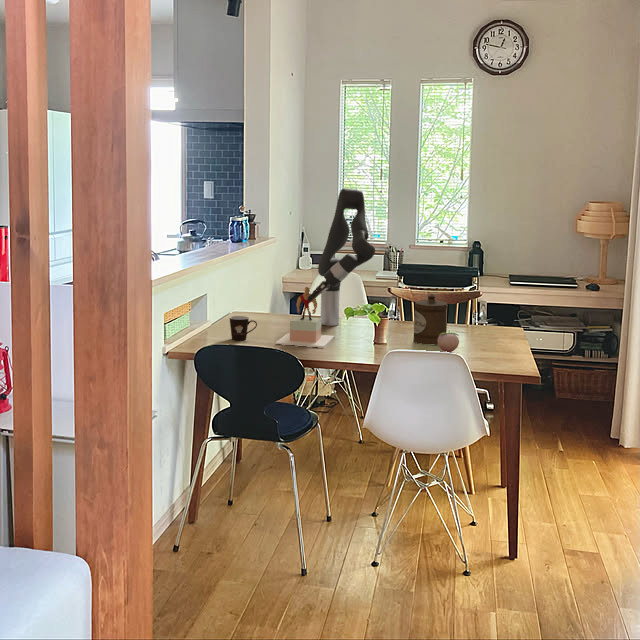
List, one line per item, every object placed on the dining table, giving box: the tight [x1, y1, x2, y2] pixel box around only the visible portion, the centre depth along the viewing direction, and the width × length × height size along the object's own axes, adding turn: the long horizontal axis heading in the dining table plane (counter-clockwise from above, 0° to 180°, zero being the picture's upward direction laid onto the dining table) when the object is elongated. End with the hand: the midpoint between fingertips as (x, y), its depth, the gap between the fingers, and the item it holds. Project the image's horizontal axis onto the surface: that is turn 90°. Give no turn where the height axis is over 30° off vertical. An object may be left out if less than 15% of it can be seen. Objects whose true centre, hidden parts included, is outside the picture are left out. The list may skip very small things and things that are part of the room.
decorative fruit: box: [437, 330, 460, 353], centre depth 347 cm, size 9×8×10 cm
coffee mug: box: [229, 315, 258, 342], centre depth 364 cm, size 12×9×10 cm
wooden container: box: [413, 293, 448, 345], centre depth 368 cm, size 15×15×22 cm
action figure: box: [296, 286, 318, 320], centre depth 361 cm, size 10×4×15 cm, turn 81°
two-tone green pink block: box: [275, 316, 335, 349], centre depth 363 cm, size 22×22×10 cm
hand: (311, 298), depth 360 cm, fingers open, 8 cm apart
